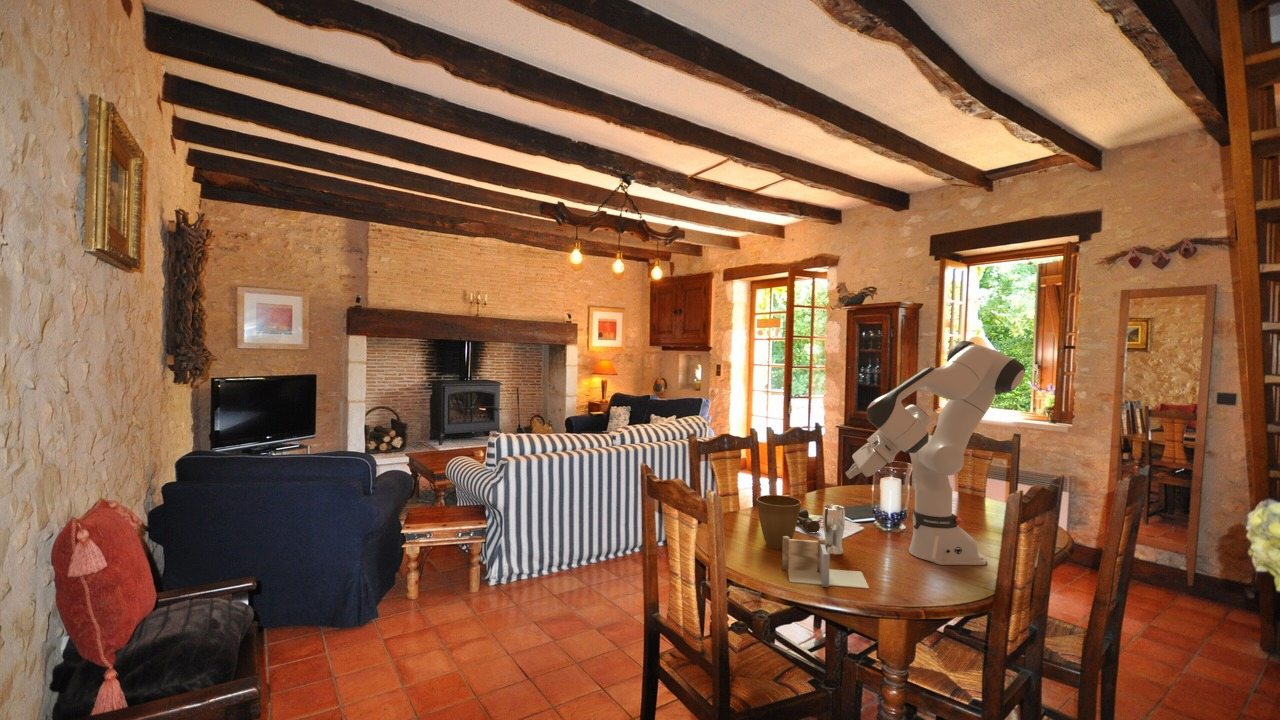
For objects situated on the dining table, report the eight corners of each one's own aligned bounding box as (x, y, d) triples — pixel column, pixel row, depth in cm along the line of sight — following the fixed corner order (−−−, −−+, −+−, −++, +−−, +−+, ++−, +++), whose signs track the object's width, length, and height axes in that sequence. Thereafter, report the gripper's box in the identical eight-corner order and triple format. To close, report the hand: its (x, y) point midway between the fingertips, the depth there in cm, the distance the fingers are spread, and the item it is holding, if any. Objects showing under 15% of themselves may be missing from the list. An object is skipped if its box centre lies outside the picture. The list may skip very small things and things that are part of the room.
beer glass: (824, 546, 201) (824, 503, 201) (845, 550, 198) (846, 506, 198) (820, 553, 195) (821, 508, 194) (842, 556, 192) (843, 511, 191)
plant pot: (797, 556, 192) (797, 507, 192) (752, 549, 198) (752, 502, 197) (803, 542, 206) (803, 497, 205) (760, 536, 212) (761, 492, 211)
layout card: (861, 572, 179) (861, 571, 179) (869, 588, 167) (869, 587, 167) (787, 566, 183) (787, 565, 183) (789, 582, 171) (789, 581, 171)
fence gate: (818, 572, 178) (818, 542, 177) (825, 572, 177) (825, 542, 177) (822, 586, 167) (822, 554, 167) (829, 587, 166) (829, 555, 166)
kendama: (802, 536, 214) (775, 519, 233) (825, 535, 216) (797, 518, 235) (803, 520, 213) (776, 504, 232) (826, 519, 216) (797, 503, 235)
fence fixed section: (824, 570, 180) (825, 538, 180) (825, 573, 177) (826, 541, 177) (782, 567, 182) (782, 535, 182) (782, 570, 180) (782, 538, 180)
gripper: (868, 433, 191) (837, 461, 194) (879, 445, 172) (843, 476, 174) (883, 447, 191) (851, 475, 193) (895, 461, 171) (859, 492, 173)
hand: (847, 476), depth 184 cm, fingers closed
